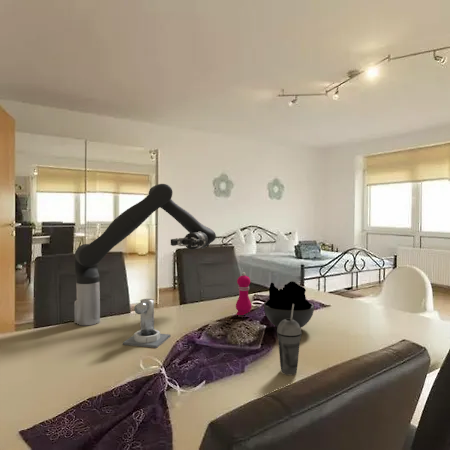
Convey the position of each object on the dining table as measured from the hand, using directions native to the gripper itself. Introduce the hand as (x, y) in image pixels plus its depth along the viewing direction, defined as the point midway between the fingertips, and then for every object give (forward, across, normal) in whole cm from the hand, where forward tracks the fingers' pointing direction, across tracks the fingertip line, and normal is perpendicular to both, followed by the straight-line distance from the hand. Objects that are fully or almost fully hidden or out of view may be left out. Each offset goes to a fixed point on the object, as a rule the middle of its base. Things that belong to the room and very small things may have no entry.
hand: (182, 243), depth 150 cm
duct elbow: (+22, -6, +33) cm, 40 cm away
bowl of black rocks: (-6, +43, +34) cm, 55 cm away
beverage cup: (+34, +46, +34) cm, 67 cm away
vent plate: (+20, -6, +34) cm, 40 cm away
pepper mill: (-20, +22, +34) cm, 45 cm away
